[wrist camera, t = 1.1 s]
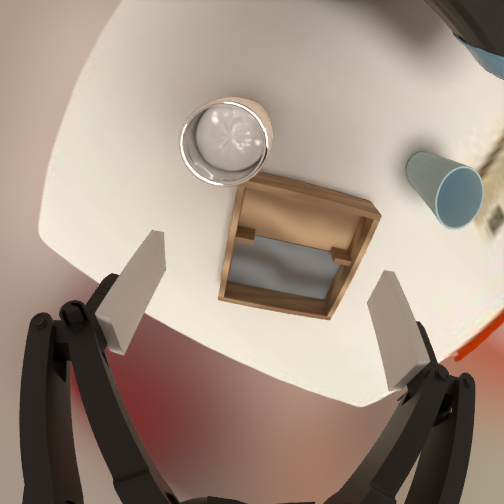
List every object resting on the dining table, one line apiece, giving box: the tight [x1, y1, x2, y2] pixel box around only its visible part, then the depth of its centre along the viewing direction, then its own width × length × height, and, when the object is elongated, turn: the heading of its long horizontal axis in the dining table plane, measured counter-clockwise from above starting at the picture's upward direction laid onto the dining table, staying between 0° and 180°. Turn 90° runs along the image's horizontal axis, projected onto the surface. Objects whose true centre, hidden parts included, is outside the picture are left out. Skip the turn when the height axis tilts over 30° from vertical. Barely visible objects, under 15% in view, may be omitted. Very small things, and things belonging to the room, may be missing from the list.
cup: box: [406, 152, 484, 229], centre depth 27 cm, size 8×8×10 cm
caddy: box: [218, 172, 381, 320], centre depth 38 cm, size 19×18×4 cm
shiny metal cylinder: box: [179, 97, 273, 187], centre depth 24 cm, size 7×7×15 cm
